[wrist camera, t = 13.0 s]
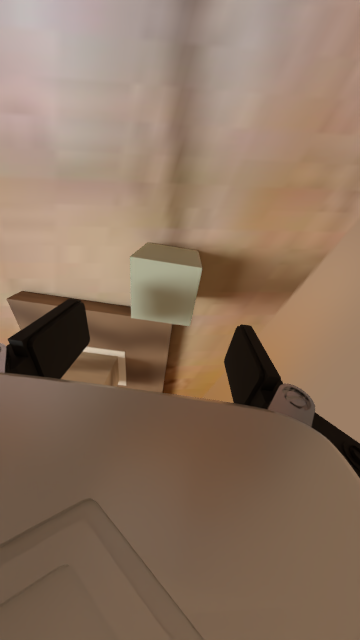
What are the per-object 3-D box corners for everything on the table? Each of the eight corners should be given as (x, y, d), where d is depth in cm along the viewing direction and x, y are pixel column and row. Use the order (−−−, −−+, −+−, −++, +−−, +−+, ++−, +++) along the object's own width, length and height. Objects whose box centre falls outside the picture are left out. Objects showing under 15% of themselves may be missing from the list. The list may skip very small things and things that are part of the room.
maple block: (78, 351, 22) (46, 393, 17) (117, 356, 22) (96, 399, 17) (84, 376, 25) (58, 418, 20) (119, 380, 25) (101, 423, 20)
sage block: (147, 242, 17) (130, 256, 12) (198, 250, 17) (202, 268, 12) (145, 289, 19) (131, 317, 14) (189, 296, 20) (189, 326, 14)
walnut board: (21, 291, 20) (5, 299, 18) (173, 313, 21) (172, 322, 19) (59, 385, 30) (51, 396, 28) (161, 398, 31) (159, 409, 29)
